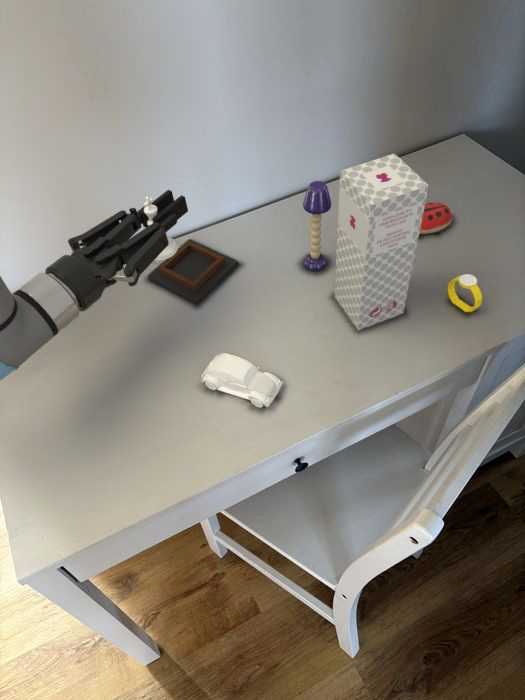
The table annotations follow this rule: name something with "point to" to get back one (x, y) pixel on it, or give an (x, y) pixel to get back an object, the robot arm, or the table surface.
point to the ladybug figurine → (435, 218)
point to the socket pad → (193, 271)
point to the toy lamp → (316, 222)
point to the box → (377, 238)
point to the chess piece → (172, 247)
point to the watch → (468, 283)
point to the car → (241, 379)
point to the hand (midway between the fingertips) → (178, 200)
